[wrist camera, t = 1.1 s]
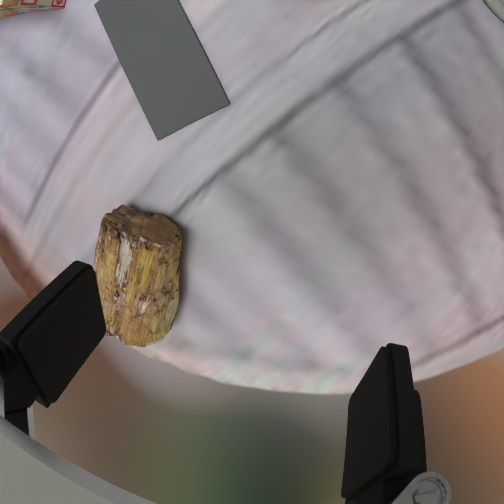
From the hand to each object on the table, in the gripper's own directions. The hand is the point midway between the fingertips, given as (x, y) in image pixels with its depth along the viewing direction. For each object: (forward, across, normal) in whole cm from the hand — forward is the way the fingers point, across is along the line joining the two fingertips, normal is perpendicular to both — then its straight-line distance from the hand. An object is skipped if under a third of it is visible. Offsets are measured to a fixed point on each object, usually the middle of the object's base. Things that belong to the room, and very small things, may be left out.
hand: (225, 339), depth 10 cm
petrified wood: (+29, +18, +20) cm, 40 cm away
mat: (+29, +19, -10) cm, 36 cm away
